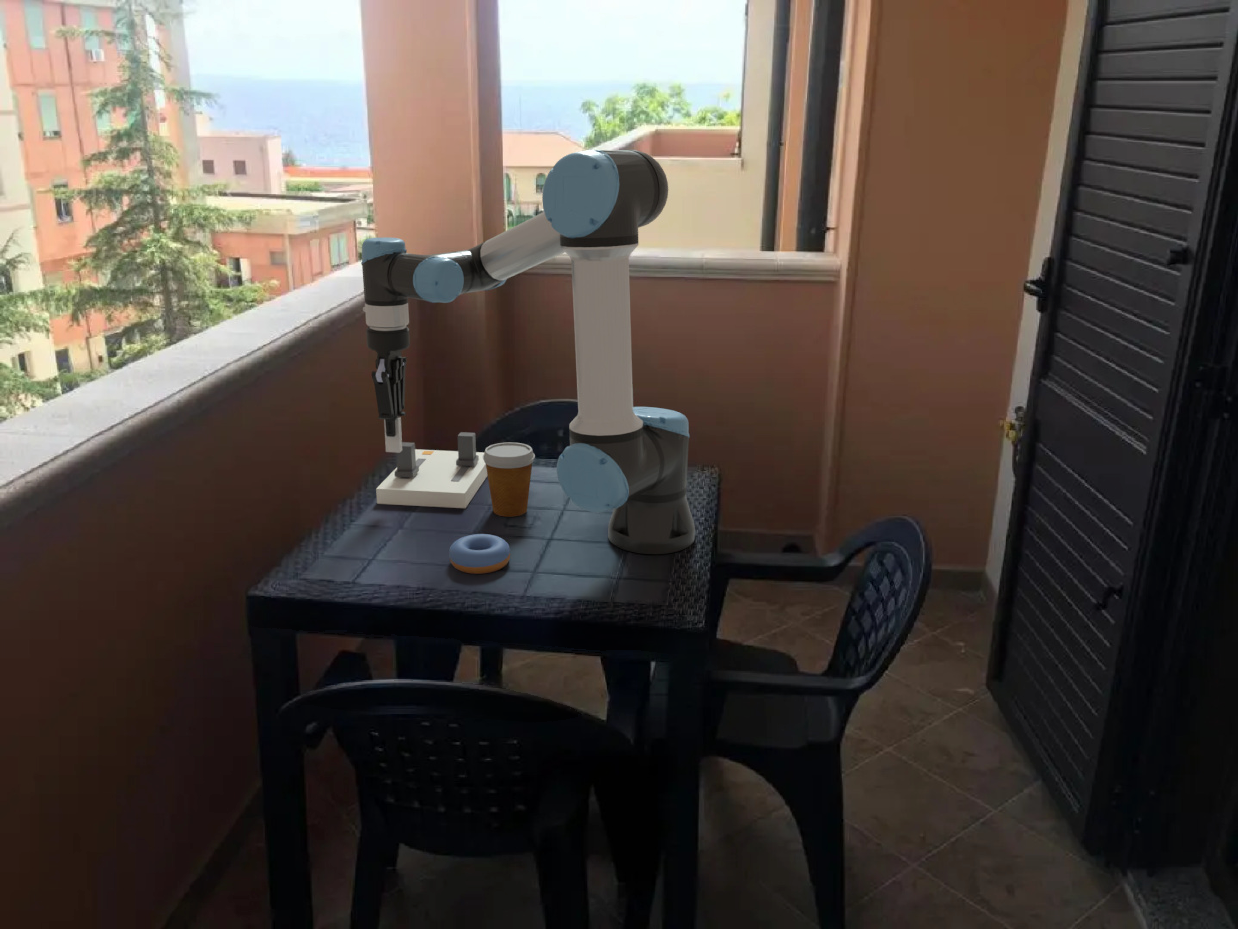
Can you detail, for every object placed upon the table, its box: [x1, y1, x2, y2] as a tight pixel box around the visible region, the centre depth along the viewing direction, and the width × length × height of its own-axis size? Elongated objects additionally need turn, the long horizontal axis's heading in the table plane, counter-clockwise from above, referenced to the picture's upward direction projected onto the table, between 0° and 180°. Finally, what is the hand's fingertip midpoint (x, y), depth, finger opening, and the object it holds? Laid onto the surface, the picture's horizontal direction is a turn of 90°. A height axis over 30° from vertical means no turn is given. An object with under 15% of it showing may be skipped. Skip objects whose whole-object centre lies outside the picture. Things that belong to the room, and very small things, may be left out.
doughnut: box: [448, 533, 511, 575], centre depth 159 cm, size 10×10×5 cm
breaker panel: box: [375, 448, 488, 509], centre depth 194 cm, size 24×17×3 cm
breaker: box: [456, 431, 479, 466], centre depth 196 cm, size 4×4×6 cm
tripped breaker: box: [395, 441, 419, 477], centre depth 189 cm, size 4×4×6 cm
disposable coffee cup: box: [483, 441, 536, 518], centre depth 180 cm, size 10×10×12 cm
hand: (394, 450), depth 183 cm, fingers closed
